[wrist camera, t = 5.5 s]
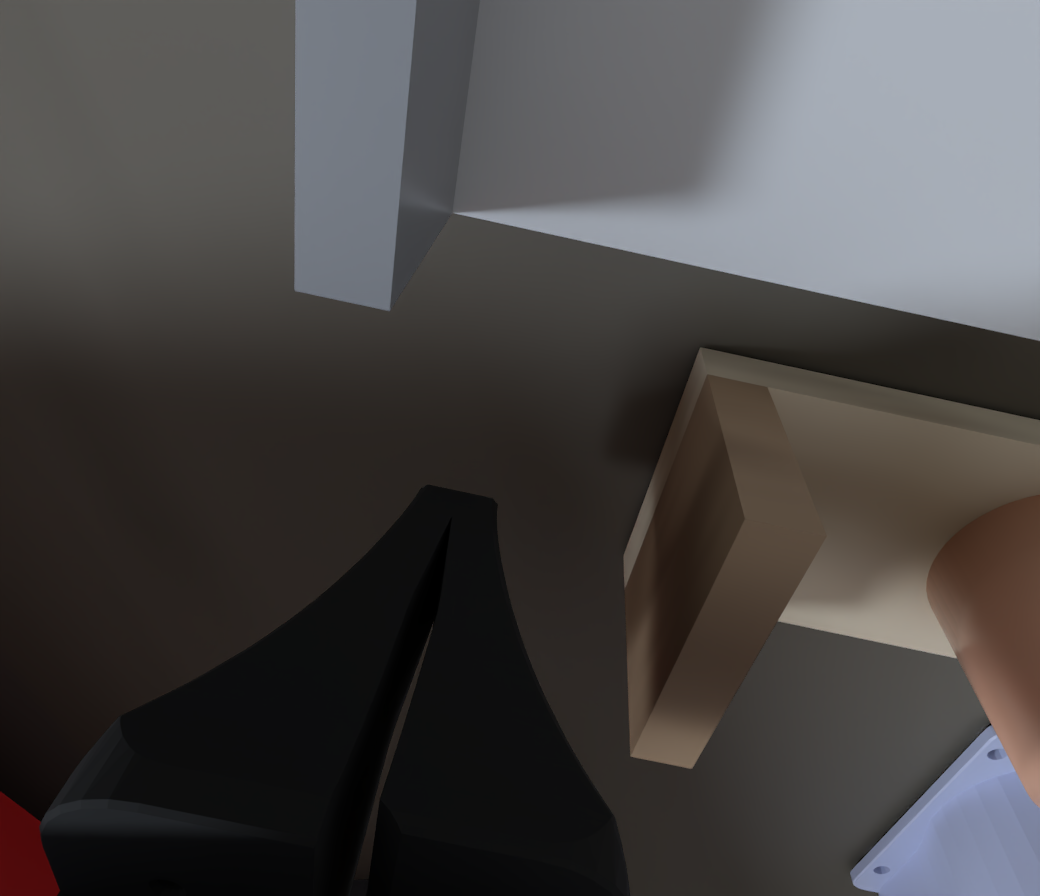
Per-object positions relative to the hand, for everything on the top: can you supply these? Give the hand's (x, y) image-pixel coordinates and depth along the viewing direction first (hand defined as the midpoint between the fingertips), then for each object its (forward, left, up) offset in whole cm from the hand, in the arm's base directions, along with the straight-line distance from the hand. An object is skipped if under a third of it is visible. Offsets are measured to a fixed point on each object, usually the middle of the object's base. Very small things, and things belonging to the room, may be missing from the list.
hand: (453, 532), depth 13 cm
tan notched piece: (0, -10, -4) cm, 11 cm away
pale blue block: (+8, -4, -4) cm, 10 cm away
